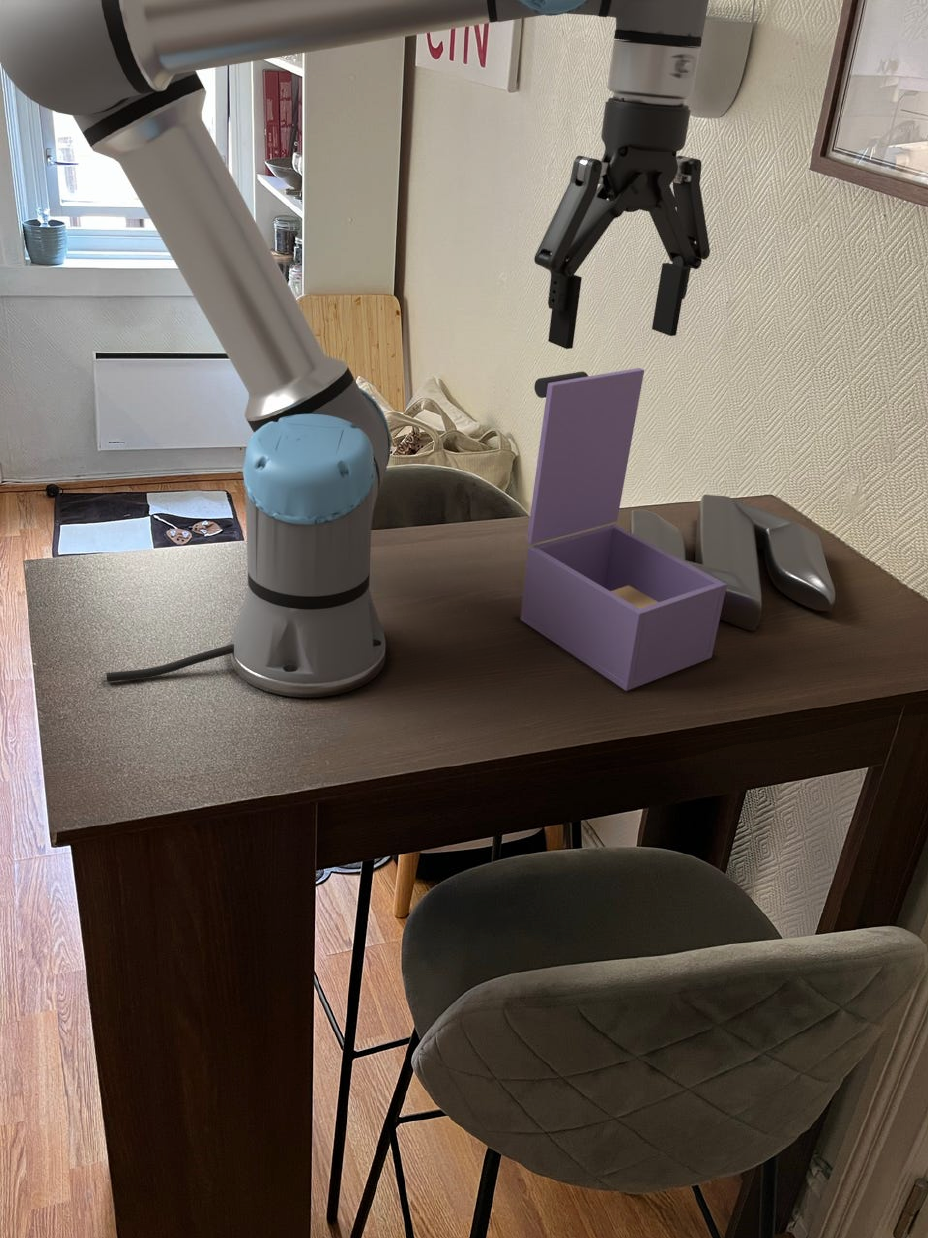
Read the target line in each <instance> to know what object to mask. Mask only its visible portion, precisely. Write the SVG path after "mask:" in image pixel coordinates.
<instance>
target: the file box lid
mask: <svg viewBox="0 0 928 1238" xmlns="http://www.w3.org/2000/svg"><path fill="white" fill-rule="evenodd" d="M644 374H645V369H643V368H641V367H637V368H631V369H624V370H618V371H612V372H608V373H607V372H606V373H600V374H595V375H588V373H587V372H586V371H577V372H571V373H564V374H559V375H551V376H546V377H540V378H536V380H535V381H534V386H533V387H534V393H535V395H536V397H538V398H540V399H545V404H544V409H543V417H542V425H541V432H540V441H539V447H538V454H537V463H536V468H535V469H536V470H535V477H534V483H533V484H534V485H533V492H532V498H531V506H530V514H529V520H528V527H527V535H526V543H528V544H530V545H534V544H535V545H536V544H539V543H542V542H546V541H549V540H553V539H557V538H560V537H561V538H562V537H564V536H568V535H571V534H575V533H578V532H582V531H586V530H589V529H593V528H594V529H595V528H597V527H601V526H606V525H609V524H613V523H616V522H618V517H619V512H620V506H621V502H622V496H623V491H624V485H625V480H626V474H627V468H628V463H629V458H630V453H631V446H632V441H633V435H634V431H635V424H636V418H637V413H638V408H639V402H640V397H641V392H642V386H643V380H644Z"/></svg>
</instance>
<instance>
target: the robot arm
mask: <svg viewBox="0 0 928 1238" xmlns="http://www.w3.org/2000/svg"><path fill="white" fill-rule="evenodd" d="M709 1H710V0H0V66H1V68H2V69H3V71H4V72H5V74H6V75H7V77H8V79H9V80H10V81H11V82H12V83H13V84H14V86H15V87H16V88H17V89H18V90H19V91H20V92H21V93H22V94H23V95H24V96H26V97H27V98H28V99H29V100H30V101H33V102H34V103H36V104H37V105H39V106H41V108H42V107H43V108H45V109H48V110H50V111H54V112H55V113H58V114H63V115H69V116H72V117H73V119H74V121H75V122H76V124H77V126H78V128H79V130H80V131H81V134H82V135H83V136H84V139H85V140H86V142H87V143H88V146H89V147H90V149H91V150H92V151H93V152H95V153H97V154H100V155H103V156H105V157H108V158H110V159H112V160H114V161H116V162H117V163H118V164H119V166H120V167H121V169H122V171H123V173H124V174H125V176H126V178H127V180H128V182H129V183H130V185H131V187H132V189H133V190H134V192H135V194H136V196H137V198H138V199H139V201H140V203H141V205H142V206H143V208H144V210H145V212H146V214H147V216H148V217H149V219H150V220H151V222H152V224H153V226H154V228H155V229H156V231H157V233H158V235H159V237H160V238H161V240H162V242H163V243H164V245H165V247H166V249H167V251H168V253H169V254H170V257H171V258H172V260H173V261H174V263H175V265H176V267H177V268H178V270H179V272H180V274H181V275H182V278H183V279H184V281H185V283H186V285H187V286H188V288H189V290H190V292H191V293H192V295H193V297H194V298H195V300H196V302H197V305H198V306H199V307H200V309H201V311H202V313H203V315H204V316H205V318H206V320H207V321H208V323H209V326H210V327H211V329H212V330H213V332H214V334H215V336H216V338H217V339H218V341H219V343H220V345H221V347H222V348H223V350H224V352H225V353H226V356H227V357H228V359H229V360H230V362H231V364H232V366H233V368H234V369H235V372H236V373H237V375H238V376H239V378H240V380H241V382H242V383H243V386H244V388H245V389H246V391H247V392H248V400H247V404H246V407H245V411H244V418H245V420H246V421H247V423H248V425H249V427H250V428H251V430H252V432H253V435H252V434H251V437H250V438H249V440H248V443H247V444H246V448H245V458H244V463H243V466H242V478H243V486H244V492H245V494H244V495H245V496H244V497H245V525H246V527H245V528H246V558H247V559H246V560H247V561H246V562H247V563H246V564H247V590H246V593H245V596H244V599H243V602H242V605H241V608H240V611H239V614H238V618H237V621H236V624H235V626H234V629H233V632H232V635H231V640H230V644H228V645H225V646H221V647H218V648H213V649H211V650H206V651H203V652H199V653H197V654H193V655H190V656H187V657H184V658H181V659H178V660H175V661H173V662H169V663H166V664H162V665H158V666H154V667H149V668H143V669H142V668H141V669H135V670H134V669H133V670H123V671H122V670H121V671H112V672H106V673H105V677H106V682H107V683H109V682H118V681H131V680H139V679H147V678H152V677H157V676H162V675H166V674H169V673H172V672H175V671H179V670H182V669H184V668H187V667H190V666H193V665H196V664H199V663H203V662H206V661H209V660H210V661H211V660H213V659H216V658H220V657H223V656H228V655H230V659H231V660H230V661H231V665H232V667H233V670H234V671H235V672H236V674H237V675H238V676H239V677H241V679H242V680H243V681H245V682H246V683H248V684H249V685H251V686H253V687H255V688H257V689H259V690H262V691H265V692H268V693H272V694H275V695H279V696H286V697H292V698H293V697H294V698H323V697H329V696H336V695H340V694H345V693H348V692H351V691H353V690H356V689H358V688H361V687H362V686H365V685H366V684H368V683H369V682H371V681H372V680H374V679H375V678H376V677H377V676H378V675H379V674H380V672H381V671H382V669H383V667H384V665H385V662H386V660H385V659H386V647H387V645H386V639H385V634H384V630H383V628H382V627H383V626H382V624H381V621H380V619H379V614H378V612H377V609H376V606H375V603H374V600H373V597H372V594H371V590H370V574H371V552H372V551H371V548H372V547H371V546H372V525H373V515H374V510H375V506H376V503H377V499H378V495H379V492H380V489H381V486H382V484H383V479H384V476H385V473H386V471H387V468H388V465H389V462H390V458H391V448H392V443H391V442H392V441H391V437H390V436H391V433H390V428H389V423H388V420H387V417H386V415H385V414H384V411H383V410H382V408H381V406H380V405H379V404H378V402H377V401H376V399H374V398H373V397H372V395H371V394H369V393H368V392H367V391H365V390H364V389H362V388H360V387H359V384H358V383H357V381H356V379H355V378H354V375H353V373H352V371H351V369H350V368H349V366H348V364H347V362H346V361H344V360H342V359H339V358H336V357H334V356H333V357H332V356H330V355H328V354H326V353H325V352H324V350H323V349H322V347H321V345H320V342H319V340H318V339H317V336H316V335H315V333H314V331H313V329H312V327H311V325H310V323H309V321H308V320H307V318H306V316H305V313H304V312H303V310H302V308H301V306H300V304H299V302H298V300H297V298H296V297H295V295H294V293H293V291H292V289H291V287H290V285H289V283H288V281H287V279H286V277H285V275H284V273H283V272H282V270H281V268H280V266H279V264H278V262H277V259H276V258H275V256H274V255H273V253H272V251H271V249H270V246H269V244H268V243H267V241H266V238H265V237H264V235H263V233H262V231H261V230H260V228H259V225H258V224H257V222H256V220H255V217H253V214H252V212H251V210H250V209H249V207H248V204H247V203H246V200H245V199H244V197H243V195H242V193H241V191H240V189H239V187H238V185H237V184H236V181H235V179H234V178H233V176H232V174H231V172H230V170H229V168H228V166H227V165H226V163H225V160H224V159H223V156H222V155H221V153H220V151H219V148H218V147H217V145H216V143H215V141H214V140H213V138H212V135H211V133H210V132H209V130H208V128H207V126H206V124H205V122H204V120H203V108H204V105H205V100H206V97H207V90H206V88H205V85H204V84H203V82H202V80H201V78H200V77H199V75H198V74H199V73H197V71H202V70H208V69H215V68H221V67H227V66H232V65H239V64H244V63H251V62H257V61H263V60H269V59H276V58H282V57H289V56H294V55H300V54H308V53H313V52H318V51H319V52H320V51H325V50H331V49H337V48H343V47H351V46H355V45H361V44H370V43H375V42H381V41H386V40H393V39H398V38H399V39H400V38H406V37H411V36H417V35H425V34H430V33H436V32H442V31H448V30H455V29H461V28H466V27H467V28H468V27H473V26H480V25H486V24H493V23H503V22H510V21H516V20H521V19H522V20H523V19H528V18H535V17H541V16H546V17H553V16H555V17H556V16H560V15H564V14H566V15H582V16H595V17H599V18H607V17H608V18H615V31H614V36H613V43H612V44H613V45H612V50H611V57H610V65H609V71H608V81H607V87H606V88H607V89H608V90H609V91H610V92H612V97H609V98H608V99H607V101H605V104H604V111H603V117H602V118H603V119H602V126H601V134H600V136H601V140H602V142H603V144H604V153H603V156H602V158H601V160H600V159H597V158H592V157H588V156H584V155H577V156H576V157H575V158H574V160H573V164H572V170H571V174H570V180H569V182H568V185H567V187H566V189H565V191H564V193H563V196H562V198H561V199H560V202H559V204H558V206H557V208H556V210H555V213H554V214H553V217H552V218H551V221H550V223H549V225H548V227H547V228H546V232H545V234H544V235H543V237H542V240H541V242H540V244H539V246H538V248H537V251H536V253H535V255H534V257H533V258H534V263H535V264H536V265H537V266H540V267H542V268H544V269H546V270H547V271H549V272H550V283H549V292H548V299H547V305H548V309H551V315H550V323H549V332H548V340H547V342H549V343H551V344H554V345H555V346H558V347H561V348H563V349H565V350H570V349H573V348H574V341H575V332H576V325H577V318H578V311H579V303H580V302H579V301H580V293H581V287H582V279H583V277H582V276H579V275H577V274H576V272H577V271H578V269H579V268H580V267H581V265H582V264H583V263H584V261H585V260H586V259H587V258H588V256H589V254H590V253H591V251H592V250H593V249H594V248H595V246H596V245H597V243H598V242H599V240H601V238H602V236H603V235H604V233H606V231H607V229H608V228H609V227H610V225H612V222H613V221H614V220H615V219H617V218H620V217H621V216H622V215H623V213H624V212H626V213H634V212H637V211H644V212H648V213H649V216H650V217H651V218H650V219H652V223H653V224H654V227H655V229H656V231H657V233H658V235H659V238H660V240H661V242H662V243H661V244H663V247H664V249H665V251H666V254H667V256H668V258H669V261H670V262H671V263H670V262H663V263H662V264H661V269H660V277H659V281H658V289H657V295H656V300H655V301H656V302H655V306H654V314H653V320H652V325H651V330H652V331H656V332H658V333H661V334H664V335H667V336H669V337H674V336H677V332H678V326H679V320H680V315H681V309H682V304H683V300H685V298H686V296H687V292H688V287H689V280H690V274H691V271H692V270H691V269H694V270H698V269H700V267H701V266H702V263H703V262H702V261H703V260H704V261H705V260H707V259H708V258H709V257H710V255H711V247H710V242H709V241H710V240H709V236H708V235H709V234H708V230H707V229H708V228H707V223H706V222H707V221H706V216H705V209H704V203H703V197H702V190H701V176H702V165H703V164H702V161H701V160H700V159H698V158H693V157H690V156H684V155H677V153H678V152H679V151H681V150H683V149H684V148H685V146H686V142H687V137H688V136H687V134H688V131H689V123H690V116H691V111H692V110H691V109H689V108H690V107H689V105H687V104H685V101H686V100H687V99H691V98H692V96H693V95H694V89H695V83H696V77H697V72H698V71H697V70H698V65H699V58H700V52H701V46H702V41H703V39H702V38H703V35H704V30H705V25H706V19H707V18H706V17H707V12H708V6H709ZM671 184H672V188H671Z"/></svg>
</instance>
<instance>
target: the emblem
mask: <svg viewBox="0 0 928 1238" xmlns="http://www.w3.org/2000/svg"><path fill="white" fill-rule="evenodd" d="M695 531H696V532H695V535H696V536H695V556H694V557H695V559H694V561H695V562H694V561H690V560H687V554H686V553H687V552H686V543H685V538H684V535H683V533H682V531H681V530H680V529H679V528H678V527H676V526H675V525H673V524H672V523H670V522H669V521H667V520H665V519H664V518H663V517H661V516H660V515H658V514H657V513H655V512H652V511H650V510H646V509H632V511H631V515H630V521H629V532H630V533H632V534H634V535H636V536H638V537H639V538H641V539H643V540H645V541H647V542H649V543H651V544H653V545H654V546H656V547H658V548H660V549H662V550H664V551H666V552H668V553H669V554H671V555H673V556H675V557H677V558H679V559H681V560H683V561H684V562H686V563H688V564H690V565H692V566H694V567H696V568H698V569H699V570H701V571H703V572H705V573H707V574H709V575H711V576H713V577H714V578H716V579H718V580H720V581H722V582H724V583H726V584H727V587H726V591H725V596H724V601H723V606H722V610H721V615H720V620H721V621H723V622H725V623H729V624H731V625H733V626H736V627H739V628H741V629H743V630H747V631H754V630H756V629H757V627H758V625H759V624H760V620H761V616H762V613H763V612H762V610H763V596H762V587H761V578H760V569H759V566H760V565H759V559H758V550H763V554H764V560H765V566H766V569H767V573H768V576H769V578H770V581H771V582H772V583H773V585H774V586H775V587H776V589H777V590H778V591H779V592H781V593H782V594H783V595H785V596H786V597H788V598H790V599H791V600H793V601H794V602H796V603H798V604H799V605H802V606H804V607H807V608H809V609H811V610H815V611H819V612H828V613H832V611H833V609H834V606H835V601H836V590H835V586H834V582H833V580H832V577H831V574H830V570H829V568H828V565H827V562H826V558H825V554H824V550H823V547H822V543H821V540H820V537H819V535H818V534H817V533H815V532H814V531H812V530H810V529H809V528H807V527H805V526H804V525H802V524H800V523H798V522H797V521H794V520H791V519H788V518H786V517H783V516H780V515H778V514H775V513H772V512H771V511H768V510H765V509H762V508H759V507H757V506H753V505H751V504H750V503H749V504H748V503H747V502H744V501H741V500H738V499H736V498H733V497H730V496H727V495H716V494H715V495H713V494H703V495H702V497H701V498H700V501H699V505H698V510H697V517H696V530H695ZM720 620H719V621H720Z"/></svg>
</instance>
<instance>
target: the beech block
mask: <svg viewBox="0 0 928 1238" xmlns="http://www.w3.org/2000/svg"><path fill="white" fill-rule="evenodd" d="M611 592H612V593H614V594H616V595H617V596H619V597H621V598H622V599H624V600H626V601H627V602H629V603H631V604H632V605H634V606H636V607H637V608H639V609H641V608H644V607H647V606H649V605H652V604H655V603H658V602H657V601H656V600H654V599H652V598H650V597H649V596H647V595H645V594H643V593H641V592H640V591H638V590H636V589H634V588H633V587H631V586H629V585H628V586H625V587H622V588H619V589H616V590H613V591H611Z"/></svg>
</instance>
